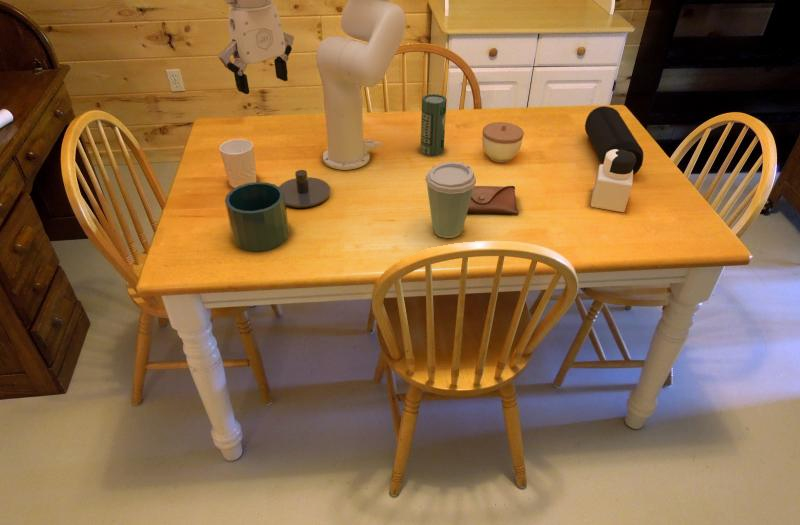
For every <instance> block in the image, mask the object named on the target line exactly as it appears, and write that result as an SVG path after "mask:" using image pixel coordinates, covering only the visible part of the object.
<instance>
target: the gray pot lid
mask: <svg viewBox="0 0 800 525" xmlns="http://www.w3.org/2000/svg"><path fill="white" fill-rule="evenodd" d="M294 176H295V178H291V179H288V180H287V181H284V182H282V183H281V184H280V185H279V186H278V187H280V188H281V189H282V191H283V193H284V198H285V205H286V207H292V208H310V207H314V206H317V205H319V204H322V203H323V202H325V201H327V199H328V198H329V197H330V194H331V187H330V185H329V184H328V182H326V181H325V180H323V179H320V178H317V177H312V176H308V171H307V170H306V169H298V170H296V171H295V172H294Z"/></svg>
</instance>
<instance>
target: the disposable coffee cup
mask: <svg viewBox="0 0 800 525" xmlns="http://www.w3.org/2000/svg"><path fill="white" fill-rule="evenodd" d="M425 182H426V188H427V196H428V202H429V210H430V211H429V212H430V219H431V225H432V230H433V232H434V234H435V235H437V236H438V237H440V238H444V239H453V238H456V237H458V236H460V235H461V233H462V231H463V230H464V227H465V222H466V218H467V215H468V214H467V211H468V207H469V203H470V199H471V195H472V192H473V188H474V186H476V184H477V178H476V176H475V172H474V170H473V168H472V167H471V166H470V165H468V164H466V163H464V162H460V161H447V162H441V163H439V164H437V165H434V166H433V167H431V169H430V170H429V171H428V172H427V173H426V175H425Z"/></svg>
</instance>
